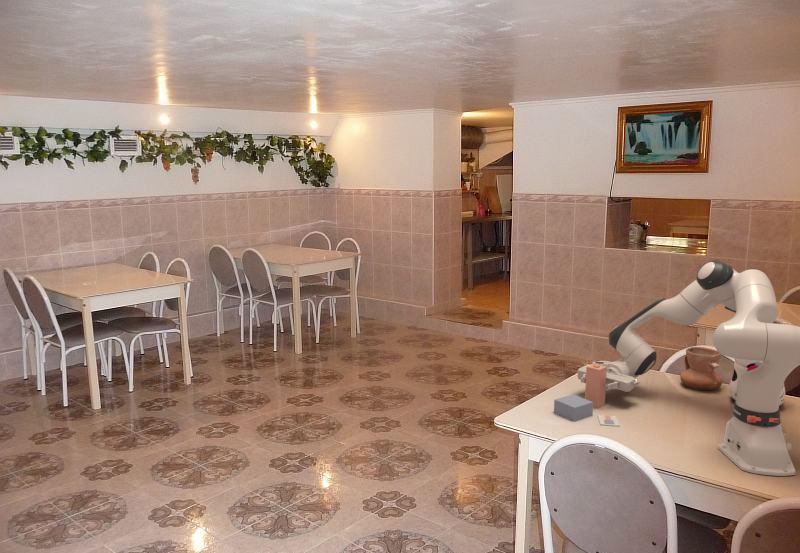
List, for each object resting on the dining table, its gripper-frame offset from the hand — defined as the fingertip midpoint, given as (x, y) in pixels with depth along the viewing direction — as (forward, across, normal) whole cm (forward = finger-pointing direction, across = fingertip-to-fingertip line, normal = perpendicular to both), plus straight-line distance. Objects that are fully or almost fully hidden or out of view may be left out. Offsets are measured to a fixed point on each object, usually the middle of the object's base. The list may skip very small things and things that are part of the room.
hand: (594, 383), depth 228 cm
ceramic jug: (-47, -18, -8) cm, 51 cm away
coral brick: (-1, 0, -8) cm, 8 cm away
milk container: (-43, -39, -8) cm, 58 cm away
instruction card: (+9, -10, -8) cm, 16 cm away
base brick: (+12, +1, -8) cm, 15 cm away
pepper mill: (-27, -43, -8) cm, 51 cm away
